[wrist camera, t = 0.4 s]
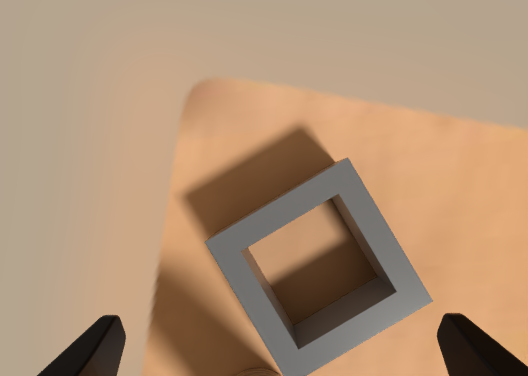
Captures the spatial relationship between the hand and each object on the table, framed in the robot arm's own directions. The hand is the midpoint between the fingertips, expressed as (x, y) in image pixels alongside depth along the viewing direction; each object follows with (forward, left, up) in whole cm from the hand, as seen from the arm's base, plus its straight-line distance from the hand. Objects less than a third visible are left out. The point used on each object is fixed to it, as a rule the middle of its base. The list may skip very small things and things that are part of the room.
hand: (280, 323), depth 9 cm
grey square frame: (-3, -2, -14) cm, 15 cm away
